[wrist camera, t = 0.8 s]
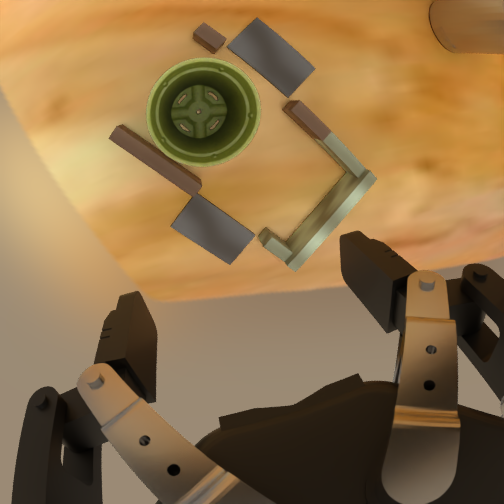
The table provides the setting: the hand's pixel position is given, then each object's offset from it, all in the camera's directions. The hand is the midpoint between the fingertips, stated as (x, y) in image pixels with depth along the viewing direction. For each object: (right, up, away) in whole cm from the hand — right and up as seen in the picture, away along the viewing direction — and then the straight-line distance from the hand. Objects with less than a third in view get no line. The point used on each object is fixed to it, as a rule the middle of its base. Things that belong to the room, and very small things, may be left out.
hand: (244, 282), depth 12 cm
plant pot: (-5, +16, +19) cm, 26 cm away
